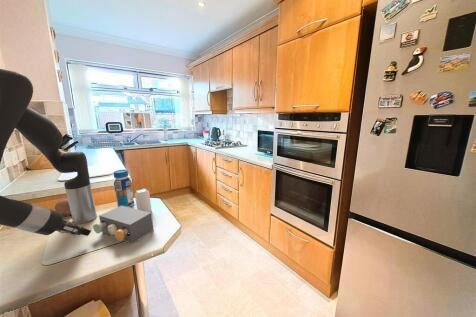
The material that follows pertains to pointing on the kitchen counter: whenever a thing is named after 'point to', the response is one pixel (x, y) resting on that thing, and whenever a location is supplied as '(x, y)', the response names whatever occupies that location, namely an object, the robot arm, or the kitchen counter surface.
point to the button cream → (112, 228)
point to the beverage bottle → (123, 188)
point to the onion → (63, 207)
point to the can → (143, 200)
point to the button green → (100, 226)
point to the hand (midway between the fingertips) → (88, 232)
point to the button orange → (121, 234)
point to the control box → (129, 222)
